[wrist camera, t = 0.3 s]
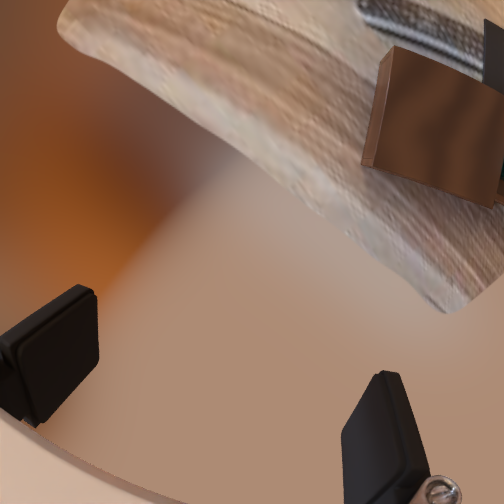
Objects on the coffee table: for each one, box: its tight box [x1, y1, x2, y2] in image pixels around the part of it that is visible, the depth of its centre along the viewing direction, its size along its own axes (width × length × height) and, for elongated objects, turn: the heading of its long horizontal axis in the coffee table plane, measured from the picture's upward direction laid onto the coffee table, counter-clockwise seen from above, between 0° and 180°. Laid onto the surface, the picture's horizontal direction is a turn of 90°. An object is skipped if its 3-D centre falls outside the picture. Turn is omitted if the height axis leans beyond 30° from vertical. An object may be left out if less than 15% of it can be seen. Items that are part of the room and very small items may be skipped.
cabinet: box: [361, 45, 504, 209], centre depth 29 cm, size 16×14×7 cm
